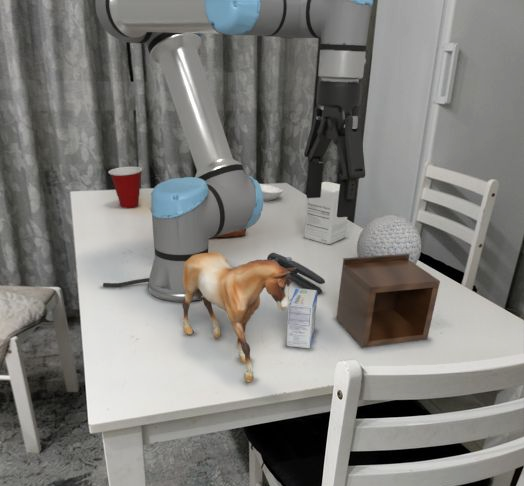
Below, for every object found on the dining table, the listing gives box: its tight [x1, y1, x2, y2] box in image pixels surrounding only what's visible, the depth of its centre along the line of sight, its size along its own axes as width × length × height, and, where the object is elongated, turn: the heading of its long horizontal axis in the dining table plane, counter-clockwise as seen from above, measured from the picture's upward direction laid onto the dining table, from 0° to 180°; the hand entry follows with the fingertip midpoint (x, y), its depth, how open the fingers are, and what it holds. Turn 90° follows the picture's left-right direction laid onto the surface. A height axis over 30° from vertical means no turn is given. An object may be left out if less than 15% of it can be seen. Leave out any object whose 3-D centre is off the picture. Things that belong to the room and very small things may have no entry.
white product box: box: [304, 181, 348, 245], centre depth 150 cm, size 9×9×15 cm
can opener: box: [266, 252, 326, 295], centre depth 122 cm, size 18×7×6 cm, turn 40°
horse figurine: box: [181, 252, 296, 383], centre depth 90 cm, size 31×8×21 cm, turn 35°
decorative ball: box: [356, 214, 422, 265], centre depth 125 cm, size 15×15×15 cm
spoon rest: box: [259, 183, 284, 202], centre depth 188 cm, size 24×12×7 cm, turn 94°
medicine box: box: [286, 288, 318, 349], centre depth 98 cm, size 8×4×9 cm, turn 168°
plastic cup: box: [108, 166, 143, 209], centre depth 173 cm, size 11×11×12 cm
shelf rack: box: [335, 254, 441, 348], centre depth 101 cm, size 14×12×13 cm
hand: (328, 206), depth 99 cm, fingers open, 13 cm apart
